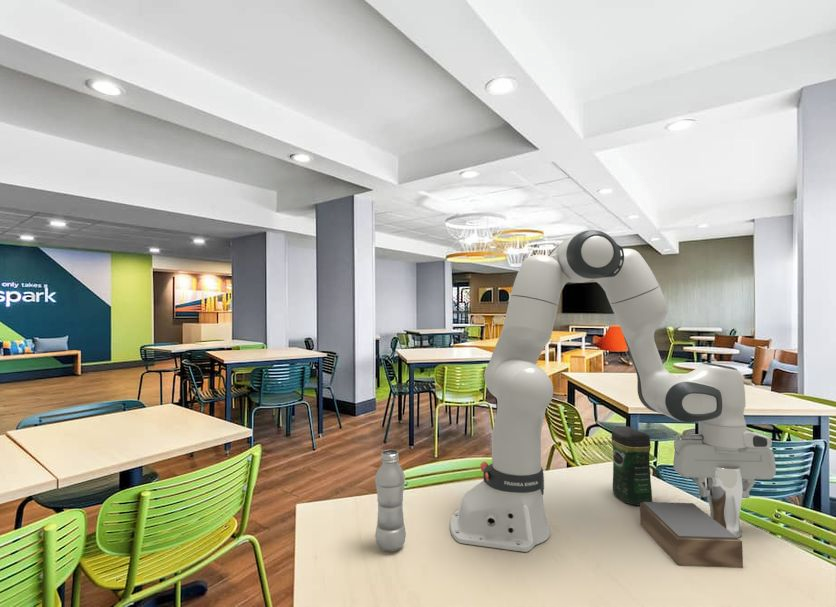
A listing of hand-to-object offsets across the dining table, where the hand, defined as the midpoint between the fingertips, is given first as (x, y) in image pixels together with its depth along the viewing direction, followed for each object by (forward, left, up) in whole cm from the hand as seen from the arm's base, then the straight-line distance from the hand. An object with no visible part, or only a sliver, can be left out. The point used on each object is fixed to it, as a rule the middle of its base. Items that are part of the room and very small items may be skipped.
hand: (723, 496), depth 94 cm
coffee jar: (-13, +16, -8) cm, 22 cm away
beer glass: (0, 0, -8) cm, 8 cm away
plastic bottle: (-74, -11, -8) cm, 76 cm away
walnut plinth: (-11, -6, -8) cm, 15 cm away
